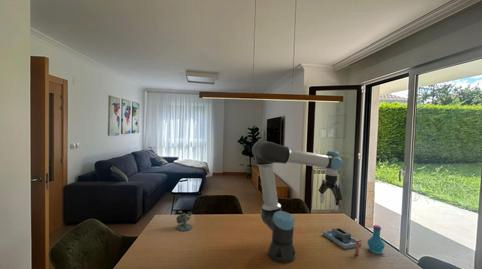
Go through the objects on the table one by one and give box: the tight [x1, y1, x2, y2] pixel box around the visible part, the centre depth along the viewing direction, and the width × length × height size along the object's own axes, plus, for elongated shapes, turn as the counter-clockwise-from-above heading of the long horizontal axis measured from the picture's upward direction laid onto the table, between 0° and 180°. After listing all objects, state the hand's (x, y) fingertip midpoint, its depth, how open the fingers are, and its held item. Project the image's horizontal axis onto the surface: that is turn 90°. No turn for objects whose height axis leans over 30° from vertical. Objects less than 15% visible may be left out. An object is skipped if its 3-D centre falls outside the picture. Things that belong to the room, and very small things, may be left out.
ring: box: [331, 227, 352, 244], centre depth 158 cm, size 10×8×6 cm
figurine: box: [175, 210, 193, 232], centre depth 167 cm, size 11×11×12 cm
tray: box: [322, 229, 362, 250], centre depth 159 cm, size 13×20×2 cm, turn 20°
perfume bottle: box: [367, 224, 385, 254], centre depth 147 cm, size 9×9×15 cm
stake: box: [354, 239, 362, 256], centre depth 142 cm, size 4×2×9 cm, turn 110°
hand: (328, 206), depth 160 cm, fingers open, 13 cm apart
